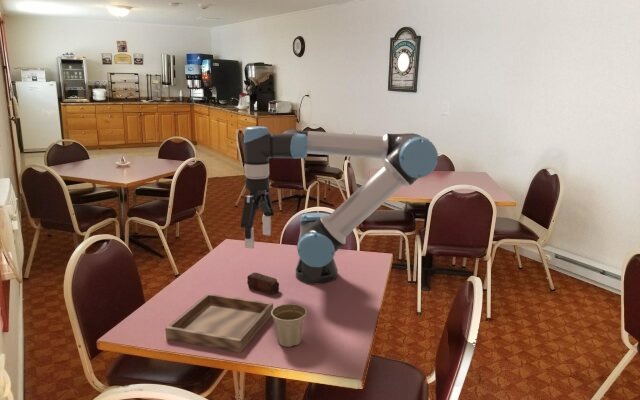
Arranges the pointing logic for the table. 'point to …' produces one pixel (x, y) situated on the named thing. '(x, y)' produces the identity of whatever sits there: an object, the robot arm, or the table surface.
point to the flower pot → (289, 323)
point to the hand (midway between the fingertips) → (258, 241)
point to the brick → (263, 283)
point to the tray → (220, 322)
